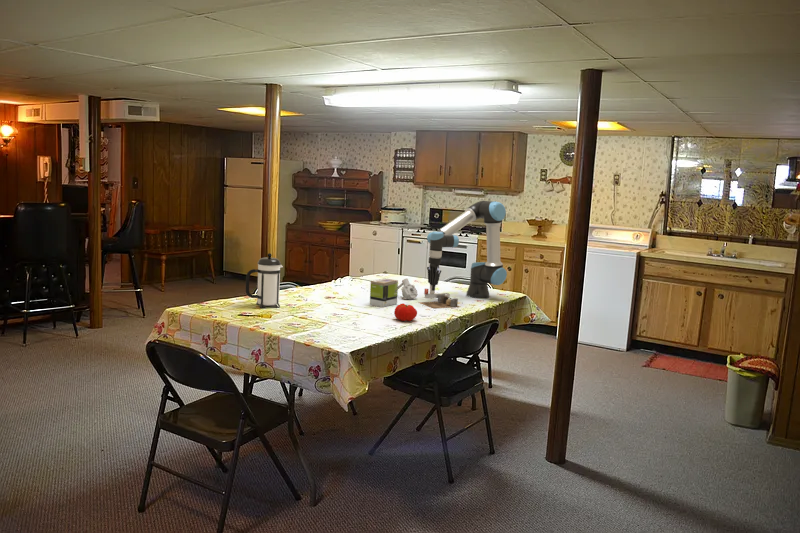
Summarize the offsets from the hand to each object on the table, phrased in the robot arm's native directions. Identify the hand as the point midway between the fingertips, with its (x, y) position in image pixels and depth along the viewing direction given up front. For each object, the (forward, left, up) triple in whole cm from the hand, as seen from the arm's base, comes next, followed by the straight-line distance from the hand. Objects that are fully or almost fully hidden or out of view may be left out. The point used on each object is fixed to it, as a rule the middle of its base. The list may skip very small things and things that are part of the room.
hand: (431, 295), depth 383 cm
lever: (-2, +2, -4) cm, 5 cm away
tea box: (+28, -9, -6) cm, 30 cm away
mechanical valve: (+6, -26, -6) cm, 27 cm away
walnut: (-7, +9, -5) cm, 12 cm away
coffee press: (+97, -20, -6) cm, 100 cm away
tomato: (+36, +31, -6) cm, 48 cm away
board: (-3, +5, -6) cm, 8 cm away
